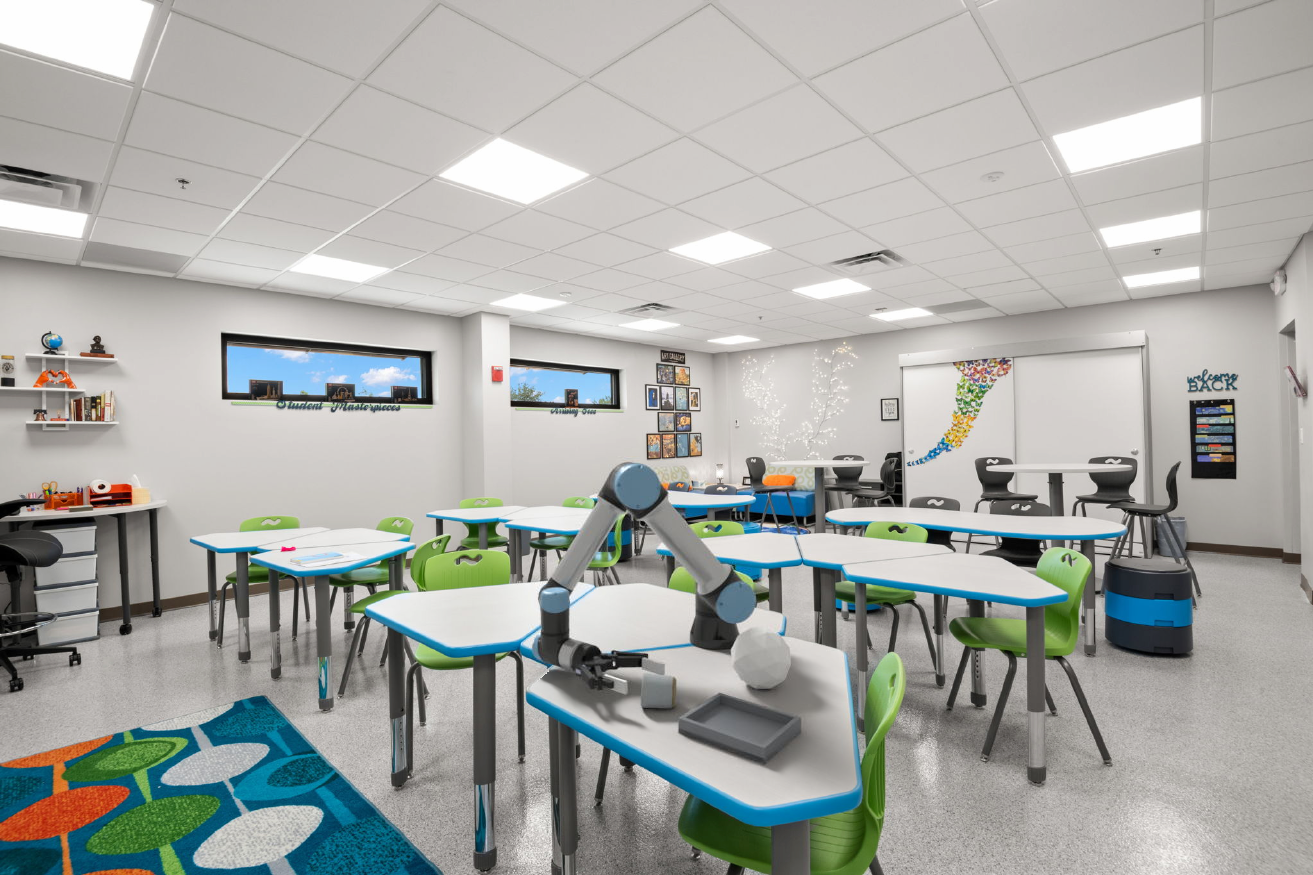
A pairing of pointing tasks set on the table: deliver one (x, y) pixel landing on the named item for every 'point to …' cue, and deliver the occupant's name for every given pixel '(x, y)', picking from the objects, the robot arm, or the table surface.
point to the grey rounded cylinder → (658, 691)
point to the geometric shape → (761, 657)
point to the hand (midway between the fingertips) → (645, 678)
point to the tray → (740, 726)
